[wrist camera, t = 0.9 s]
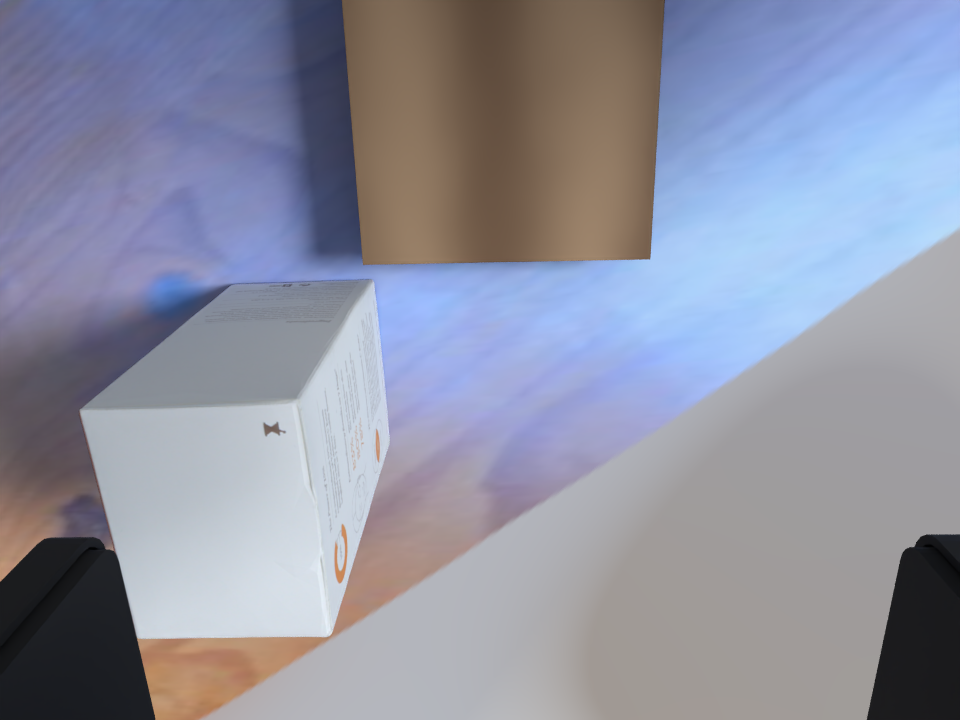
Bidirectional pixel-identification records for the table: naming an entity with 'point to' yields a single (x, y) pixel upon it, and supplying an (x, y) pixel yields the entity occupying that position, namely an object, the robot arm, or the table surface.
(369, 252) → the plinth
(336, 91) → the table surface
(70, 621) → the robot arm
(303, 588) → the small box
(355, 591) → the table surface
